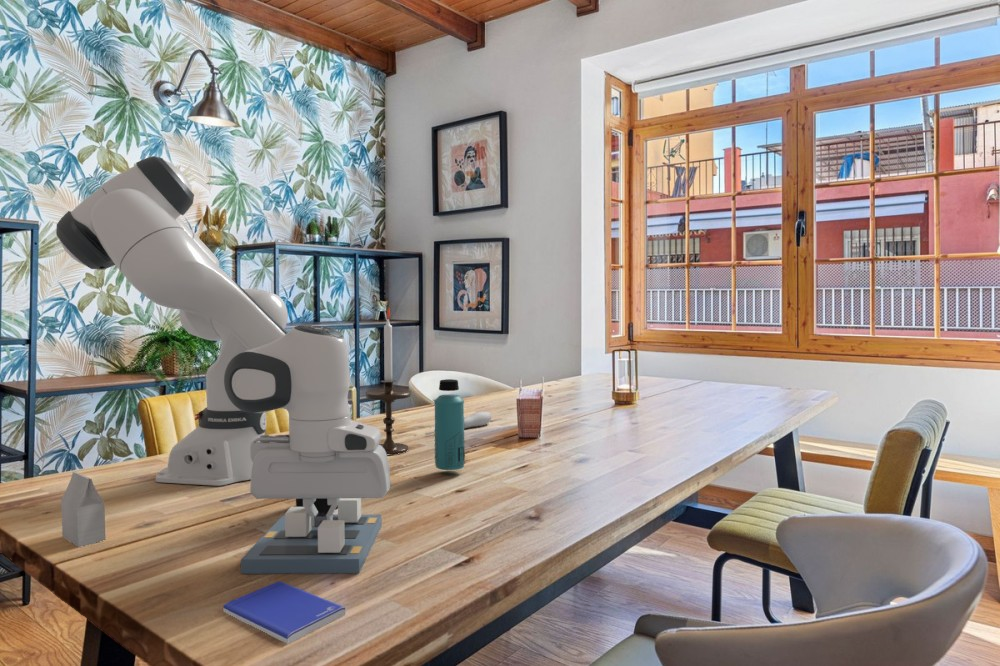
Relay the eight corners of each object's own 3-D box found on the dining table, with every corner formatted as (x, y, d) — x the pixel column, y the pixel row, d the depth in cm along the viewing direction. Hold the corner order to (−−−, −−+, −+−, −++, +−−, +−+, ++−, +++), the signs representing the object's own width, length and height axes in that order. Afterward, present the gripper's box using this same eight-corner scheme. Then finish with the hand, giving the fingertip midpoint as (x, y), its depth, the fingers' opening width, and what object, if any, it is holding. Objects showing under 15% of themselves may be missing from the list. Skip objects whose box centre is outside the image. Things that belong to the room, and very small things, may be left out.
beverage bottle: (460, 478, 135) (460, 382, 134) (430, 476, 137) (429, 381, 135) (468, 470, 142) (468, 378, 140) (439, 468, 143) (438, 377, 142)
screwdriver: (420, 442, 176) (417, 426, 176) (485, 424, 194) (482, 410, 194) (431, 441, 173) (428, 425, 173) (496, 422, 191) (493, 408, 191)
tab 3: (338, 522, 102) (337, 500, 102) (342, 515, 105) (342, 494, 105) (357, 522, 102) (357, 500, 102) (361, 515, 105) (360, 494, 105)
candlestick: (384, 444, 166) (382, 306, 164) (420, 448, 161) (419, 306, 159) (357, 453, 156) (355, 306, 154) (394, 458, 152) (393, 307, 150)
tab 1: (285, 536, 96) (284, 513, 96) (291, 529, 99) (291, 506, 99) (305, 536, 96) (305, 513, 96) (311, 529, 99) (311, 506, 99)
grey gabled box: (78, 547, 98) (76, 482, 98) (62, 537, 102) (60, 474, 102) (105, 540, 101) (103, 476, 100) (88, 530, 105) (86, 469, 105)
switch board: (241, 573, 89) (240, 558, 89) (283, 526, 107) (283, 514, 107) (359, 573, 89) (358, 558, 89) (381, 526, 107) (381, 513, 107)
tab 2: (318, 552, 90) (317, 527, 90) (323, 544, 93) (323, 520, 93) (339, 552, 90) (339, 527, 90) (344, 544, 93) (344, 520, 93)
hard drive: (345, 605, 78) (281, 579, 85) (287, 634, 71) (222, 603, 78) (345, 618, 78) (281, 591, 85) (287, 648, 71) (223, 616, 78)
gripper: (242, 439, 94) (244, 534, 95) (384, 439, 94) (386, 533, 95) (257, 430, 100) (259, 519, 101) (391, 430, 101) (392, 518, 101)
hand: (322, 526), depth 98 cm, fingers closed
